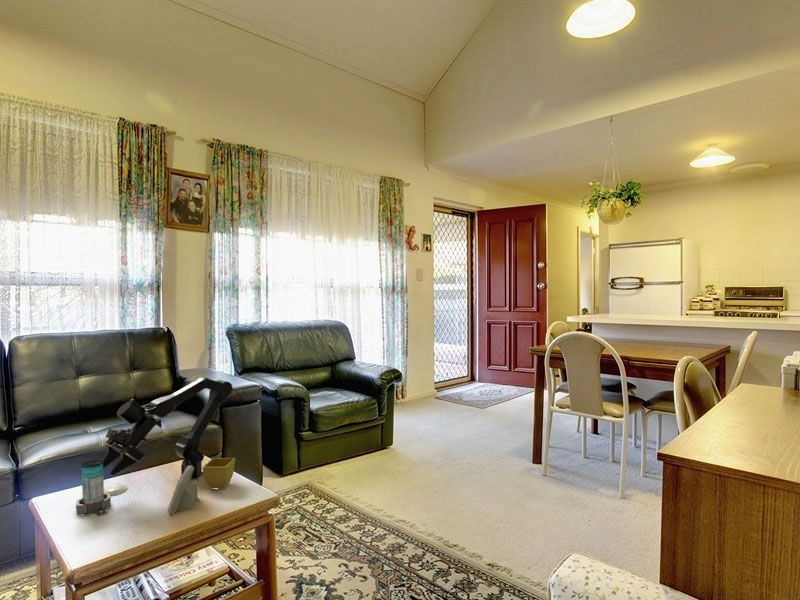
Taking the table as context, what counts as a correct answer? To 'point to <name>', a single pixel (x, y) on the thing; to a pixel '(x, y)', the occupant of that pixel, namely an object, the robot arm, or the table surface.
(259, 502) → the table surface
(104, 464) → the robot arm
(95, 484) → the beverage can
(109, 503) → the eye ring
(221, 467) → the flower pot
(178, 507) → the digital clock
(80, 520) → the table surface
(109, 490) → the dome ceiling light
